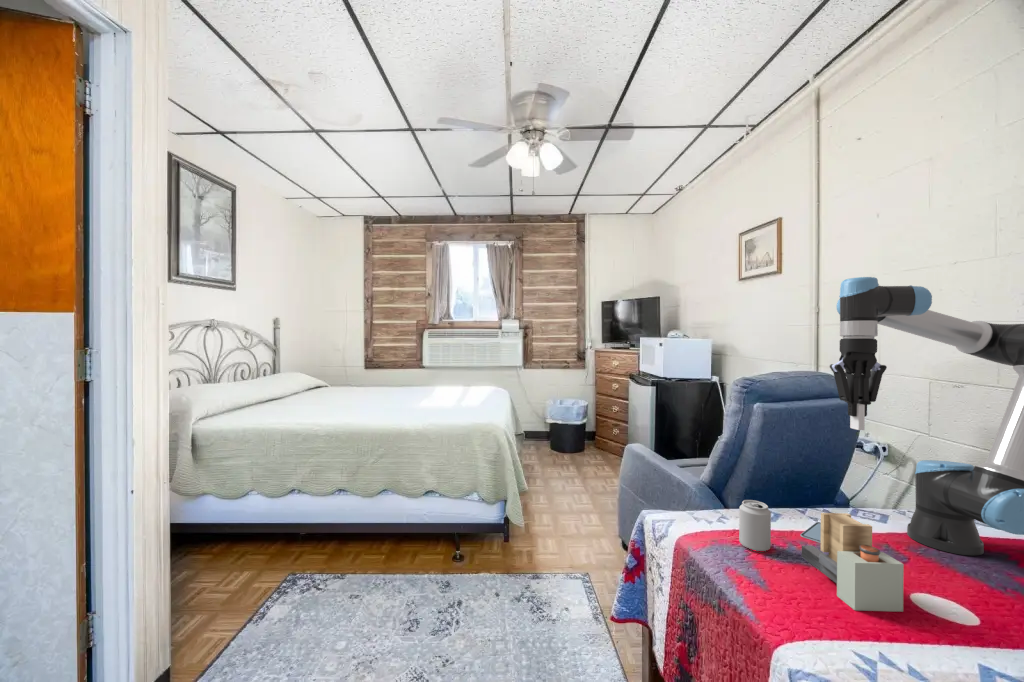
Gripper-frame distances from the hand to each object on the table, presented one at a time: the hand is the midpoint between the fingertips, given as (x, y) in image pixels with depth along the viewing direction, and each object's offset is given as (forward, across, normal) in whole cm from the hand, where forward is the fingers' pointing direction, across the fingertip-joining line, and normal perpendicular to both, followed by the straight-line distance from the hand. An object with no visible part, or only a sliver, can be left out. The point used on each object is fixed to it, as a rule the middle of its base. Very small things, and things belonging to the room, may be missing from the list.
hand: (857, 428), depth 107 cm
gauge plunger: (+27, +11, +18) cm, 34 cm away
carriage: (+34, +11, +11) cm, 38 cm away
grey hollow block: (+34, +11, +18) cm, 40 cm away
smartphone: (+35, -3, -16) cm, 39 cm away
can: (+35, +22, -7) cm, 42 cm away
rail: (+34, +11, +6) cm, 37 cm away
